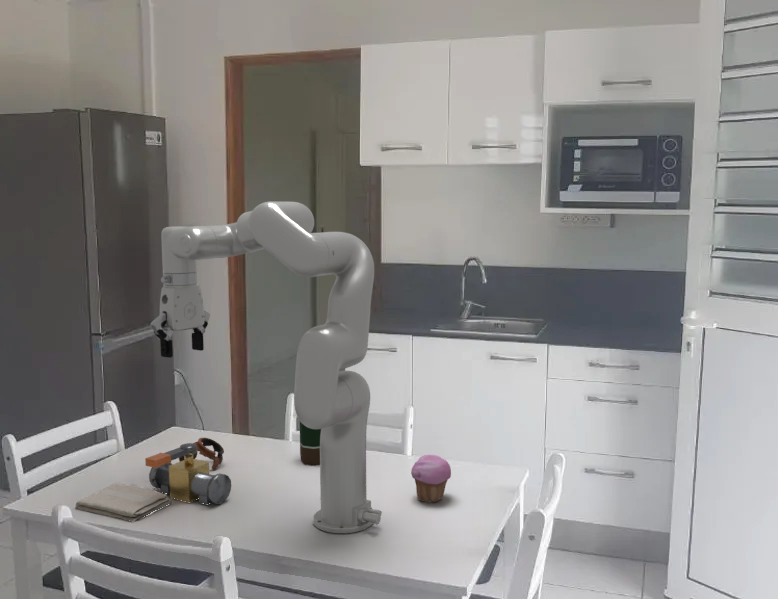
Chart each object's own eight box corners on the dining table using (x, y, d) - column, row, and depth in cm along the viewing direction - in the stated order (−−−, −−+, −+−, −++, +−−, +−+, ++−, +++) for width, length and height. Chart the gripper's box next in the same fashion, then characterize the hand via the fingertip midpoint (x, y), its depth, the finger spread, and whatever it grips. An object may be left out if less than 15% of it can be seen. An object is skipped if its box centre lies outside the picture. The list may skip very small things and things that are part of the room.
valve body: (231, 499, 171) (230, 456, 170) (211, 509, 166) (210, 465, 165) (170, 484, 181) (169, 443, 180) (149, 492, 176) (147, 450, 175)
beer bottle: (329, 465, 193) (327, 372, 191) (298, 465, 194) (296, 372, 191) (331, 455, 201) (330, 366, 198) (302, 455, 201) (300, 366, 198)
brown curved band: (196, 460, 200) (211, 434, 199) (219, 482, 195) (234, 455, 194) (163, 462, 189) (179, 434, 188) (186, 485, 185) (203, 457, 184)
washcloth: (136, 525, 159) (135, 511, 159) (72, 511, 166) (72, 497, 166) (174, 505, 170) (174, 491, 169) (113, 493, 177) (112, 480, 177)
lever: (200, 451, 173) (200, 444, 173) (156, 468, 162) (156, 460, 162) (188, 449, 175) (188, 442, 175) (144, 465, 164) (144, 458, 164)
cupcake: (425, 489, 177) (426, 447, 176) (458, 497, 172) (458, 454, 171) (404, 501, 170) (404, 457, 169) (437, 510, 165) (437, 465, 164)
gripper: (162, 284, 167) (165, 361, 169) (218, 277, 182) (220, 348, 184) (139, 282, 171) (142, 358, 173) (195, 276, 186) (197, 346, 188)
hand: (182, 353), depth 178 cm, fingers open, 9 cm apart
